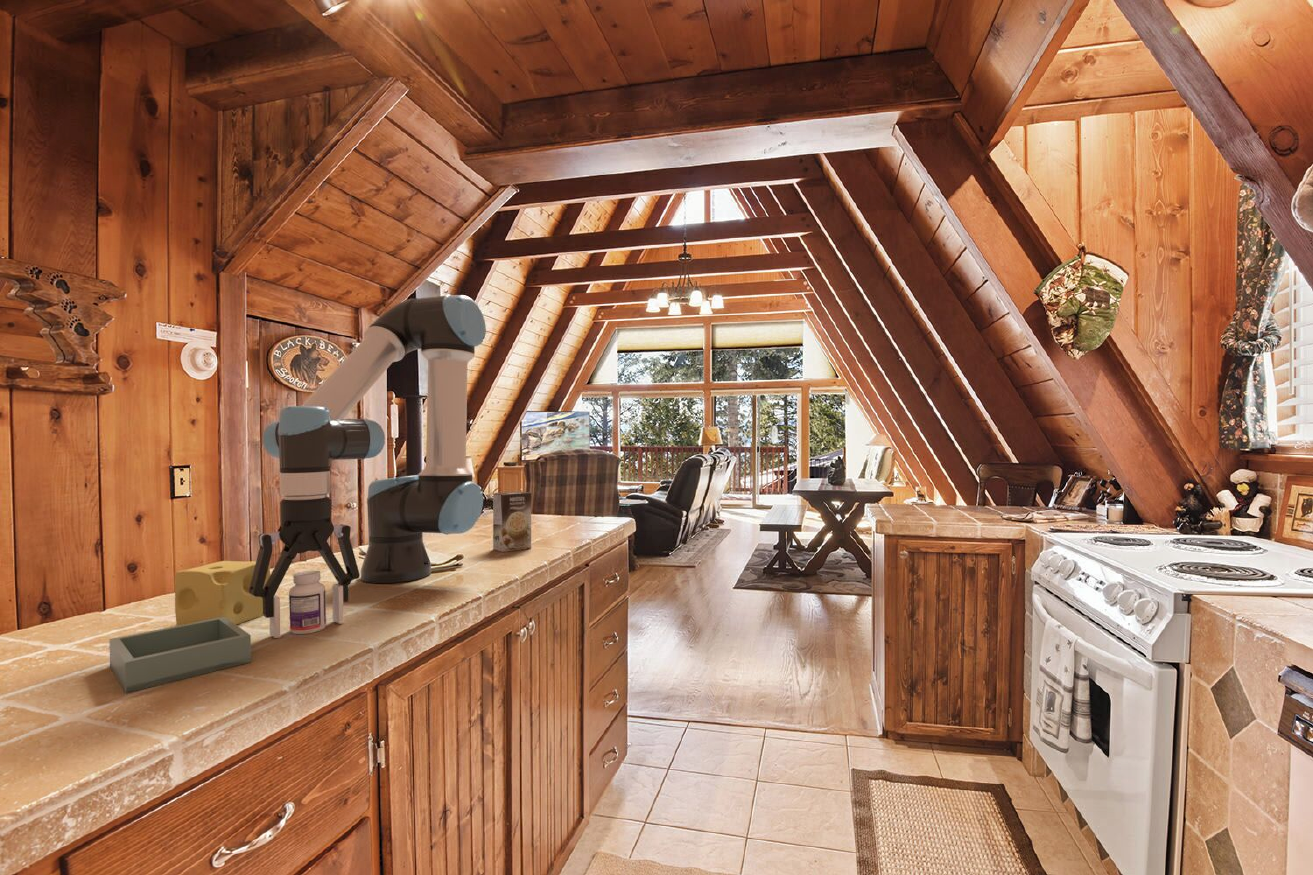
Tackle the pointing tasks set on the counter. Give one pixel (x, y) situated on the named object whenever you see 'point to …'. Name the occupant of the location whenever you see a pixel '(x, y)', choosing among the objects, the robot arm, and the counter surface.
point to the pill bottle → (307, 603)
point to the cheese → (217, 593)
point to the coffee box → (511, 521)
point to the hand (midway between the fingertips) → (307, 628)
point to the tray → (178, 653)
